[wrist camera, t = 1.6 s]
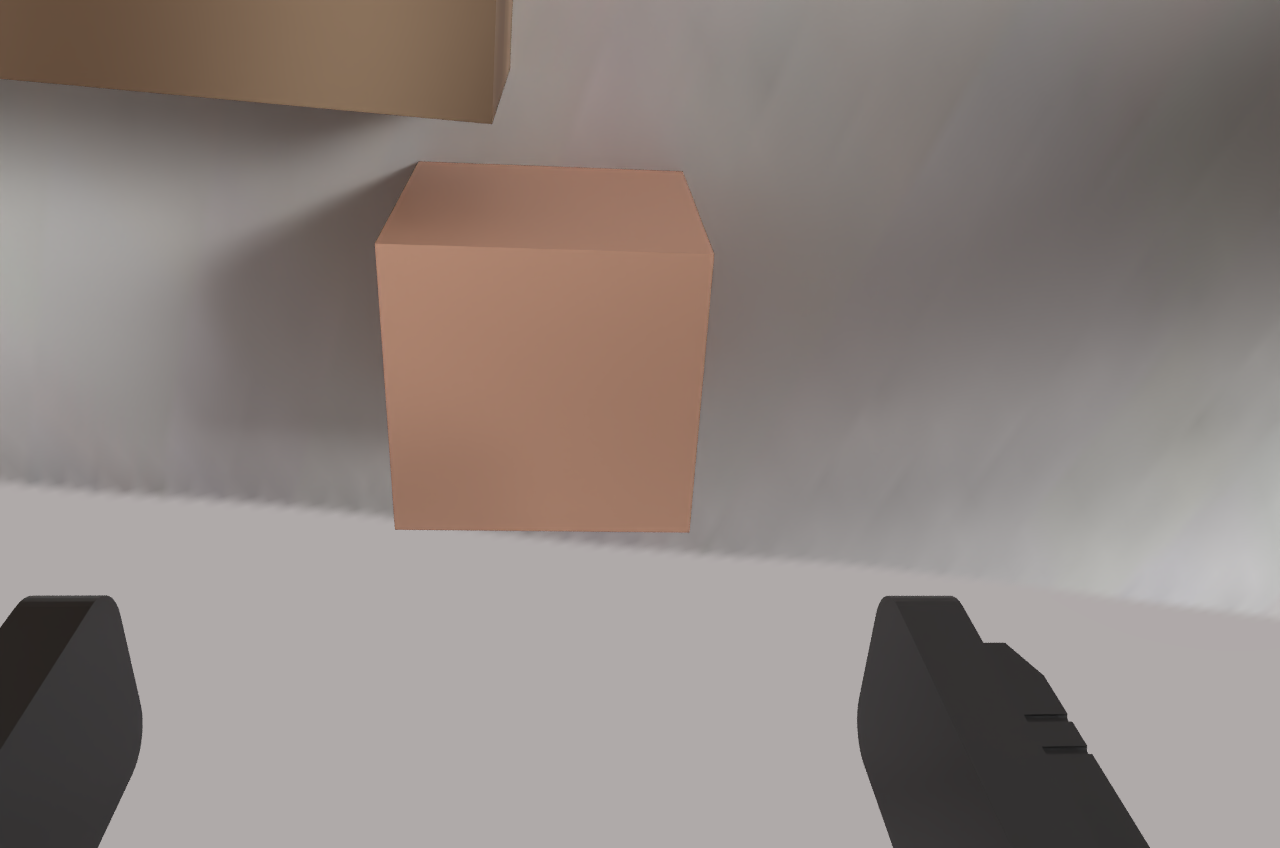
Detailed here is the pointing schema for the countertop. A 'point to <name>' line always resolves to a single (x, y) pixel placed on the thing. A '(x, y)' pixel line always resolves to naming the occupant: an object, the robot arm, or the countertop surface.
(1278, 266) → the countertop surface
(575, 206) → the terracotta cube
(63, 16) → the walnut block
